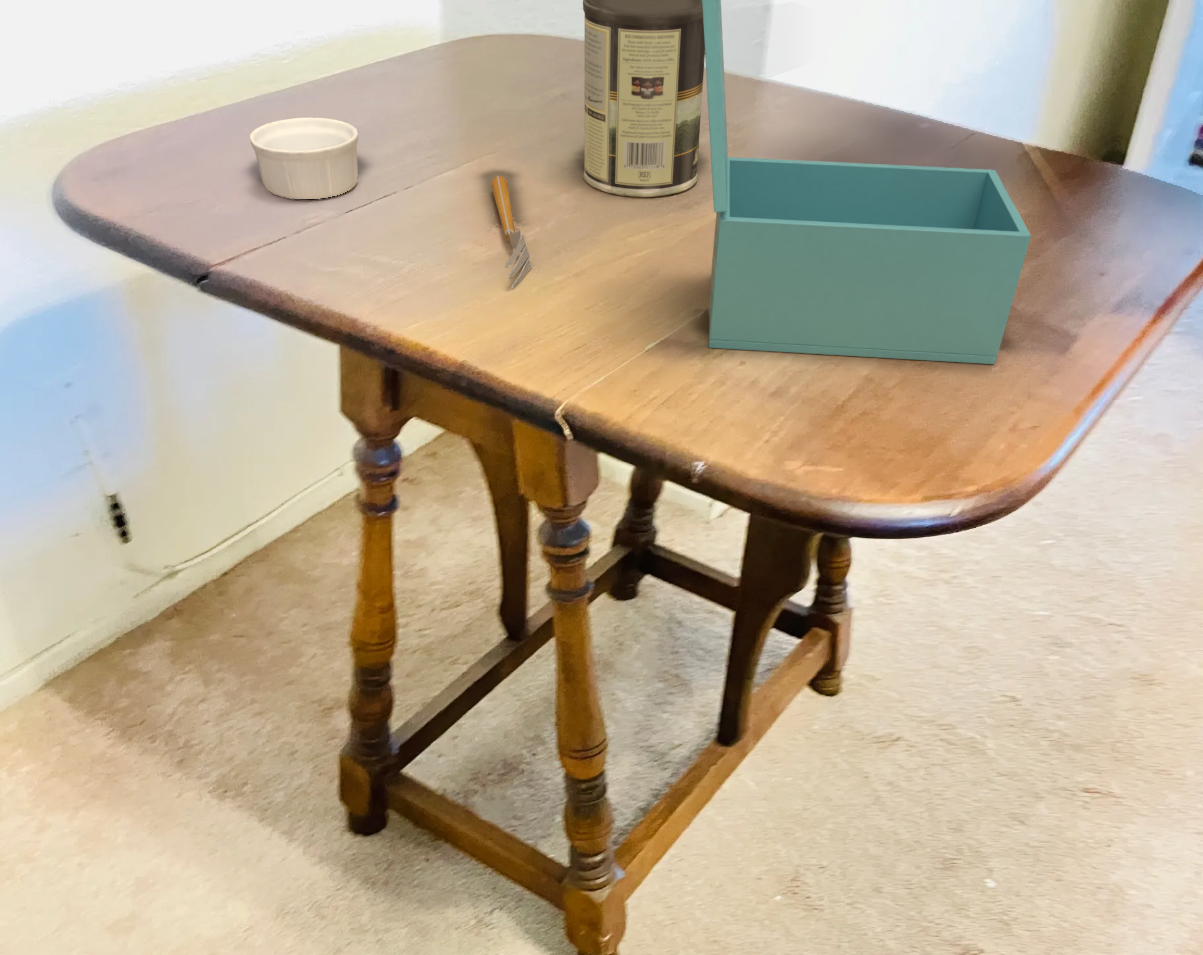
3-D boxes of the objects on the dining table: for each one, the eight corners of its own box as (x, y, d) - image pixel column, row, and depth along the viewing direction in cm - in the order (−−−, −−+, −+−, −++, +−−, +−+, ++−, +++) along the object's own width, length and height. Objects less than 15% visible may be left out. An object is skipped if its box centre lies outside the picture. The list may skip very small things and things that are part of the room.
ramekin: (385, 181, 94) (379, 129, 91) (311, 211, 88) (303, 157, 85) (312, 161, 98) (304, 110, 95) (236, 189, 92) (226, 136, 89)
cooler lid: (711, -196, 62) (698, -194, 62) (708, -177, 53) (692, -174, 53) (727, 149, 74) (716, 150, 74) (727, 211, 65) (714, 212, 66)
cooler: (965, 288, 79) (995, 169, 74) (995, 364, 70) (1031, 235, 65) (711, 275, 80) (721, 156, 75) (708, 348, 71) (719, 219, 66)
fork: (483, 172, 92) (503, 261, 76) (504, 166, 91) (528, 254, 76) (492, 201, 93) (513, 294, 78) (512, 195, 93) (537, 287, 78)
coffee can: (661, 152, 101) (670, -18, 92) (719, 187, 94) (735, 7, 85) (562, 167, 97) (561, -9, 88) (615, 205, 91) (620, 19, 81)
